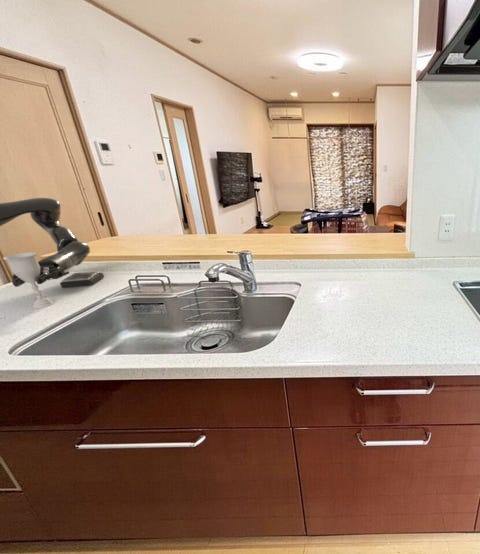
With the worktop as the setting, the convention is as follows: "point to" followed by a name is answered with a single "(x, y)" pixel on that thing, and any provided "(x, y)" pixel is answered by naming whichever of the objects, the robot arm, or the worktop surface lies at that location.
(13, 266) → the chalice
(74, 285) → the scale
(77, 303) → the worktop surface
